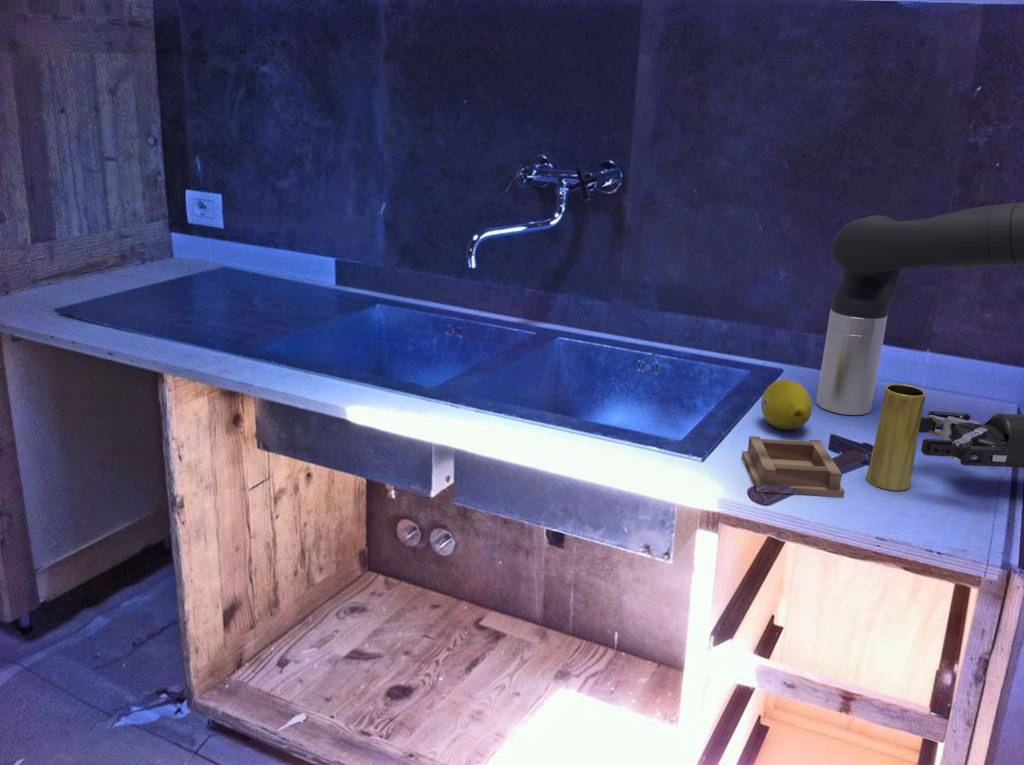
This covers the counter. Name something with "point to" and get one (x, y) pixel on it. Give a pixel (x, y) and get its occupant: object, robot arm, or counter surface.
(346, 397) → the counter surface
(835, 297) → the robot arm
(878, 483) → the vase
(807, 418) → the lemon
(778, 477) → the socket block
